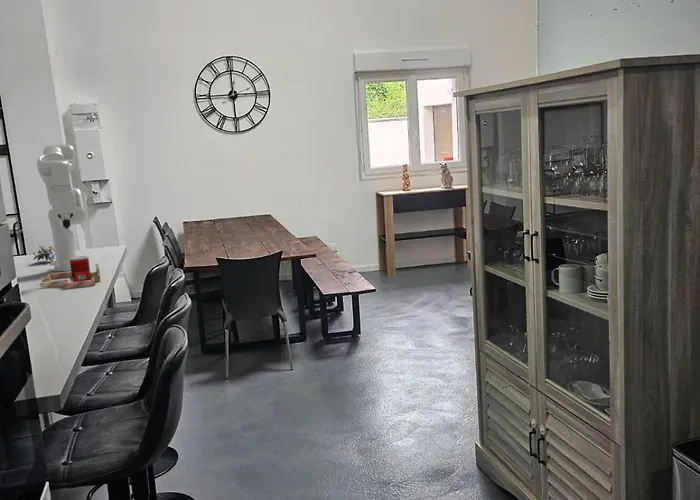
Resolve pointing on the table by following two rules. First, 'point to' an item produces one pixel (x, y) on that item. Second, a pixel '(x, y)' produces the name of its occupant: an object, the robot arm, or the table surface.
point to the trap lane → (48, 283)
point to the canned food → (80, 268)
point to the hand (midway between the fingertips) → (67, 228)
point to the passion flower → (45, 253)
